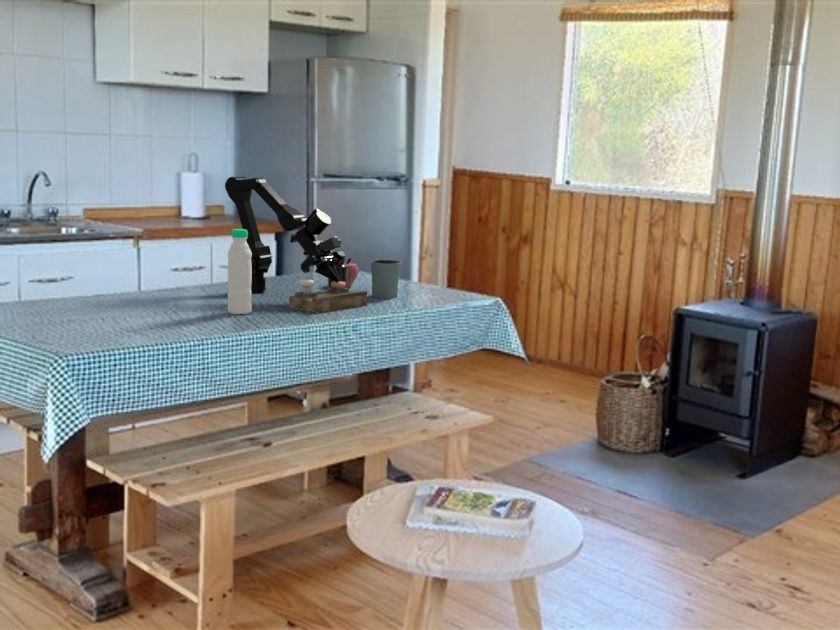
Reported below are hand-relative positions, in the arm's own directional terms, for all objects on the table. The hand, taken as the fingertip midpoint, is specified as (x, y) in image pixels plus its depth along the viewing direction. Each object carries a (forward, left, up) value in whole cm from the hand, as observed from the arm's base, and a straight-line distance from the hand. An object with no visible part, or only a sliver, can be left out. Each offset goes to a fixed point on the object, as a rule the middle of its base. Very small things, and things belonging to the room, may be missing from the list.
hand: (338, 281), depth 315 cm
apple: (+3, +34, -7) cm, 35 cm away
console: (-3, -7, -7) cm, 10 cm away
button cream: (-10, -10, -4) cm, 15 cm away
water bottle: (-29, -21, -7) cm, 36 cm away
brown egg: (0, 0, -6) cm, 6 cm away
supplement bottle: (0, +22, -7) cm, 23 cm away
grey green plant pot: (+16, +14, -7) cm, 22 cm away
